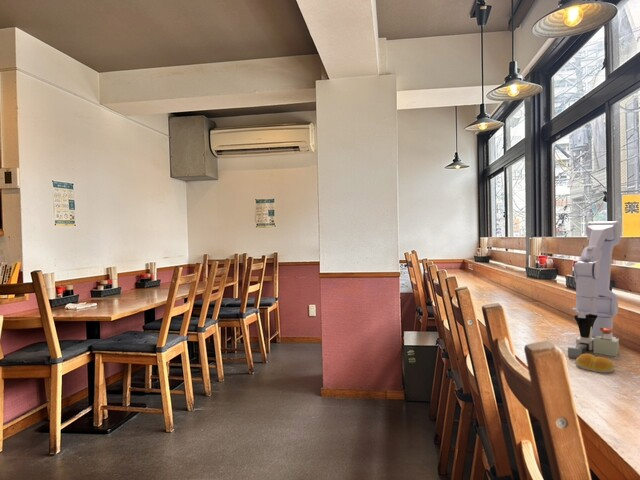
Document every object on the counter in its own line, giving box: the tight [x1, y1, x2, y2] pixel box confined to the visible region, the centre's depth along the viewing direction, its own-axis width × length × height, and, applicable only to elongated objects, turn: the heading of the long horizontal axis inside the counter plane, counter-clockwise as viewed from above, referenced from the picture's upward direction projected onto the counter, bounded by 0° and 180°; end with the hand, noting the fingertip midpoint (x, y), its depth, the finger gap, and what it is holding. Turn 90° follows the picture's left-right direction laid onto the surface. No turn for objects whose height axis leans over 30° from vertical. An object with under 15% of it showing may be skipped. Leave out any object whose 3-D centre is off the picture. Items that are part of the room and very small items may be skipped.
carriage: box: [575, 327, 594, 351], centre depth 138 cm, size 6×4×7 cm
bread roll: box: [575, 353, 615, 374], centre depth 116 cm, size 8×9×4 cm
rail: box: [567, 336, 595, 360], centre depth 134 cm, size 24×4×3 cm, turn 137°
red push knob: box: [600, 328, 614, 340], centre depth 132 cm, size 3×3×5 cm
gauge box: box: [593, 336, 620, 357], centre depth 132 cm, size 6×6×4 cm
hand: (585, 336), depth 138 cm, fingers closed on carriage, 3 cm apart
